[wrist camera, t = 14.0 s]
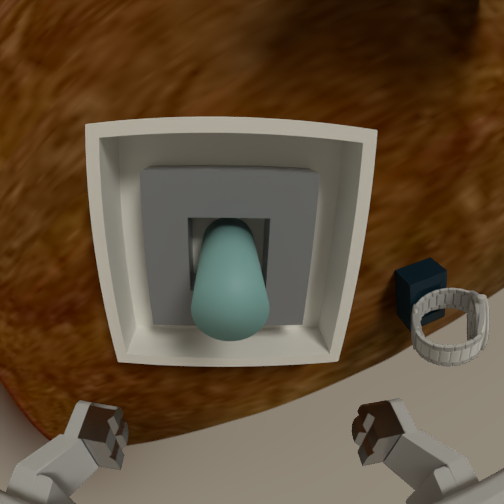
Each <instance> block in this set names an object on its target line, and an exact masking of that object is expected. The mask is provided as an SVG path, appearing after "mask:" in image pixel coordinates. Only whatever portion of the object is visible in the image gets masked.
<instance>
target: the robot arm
mask: <svg viewBox="0 0 504 504" xmlns="http://www.w3.org/2000/svg"><path fill="white" fill-rule="evenodd" d="M122 414H123V413H122V411H121V408H120V407H115V406H109V405H103V404H97V403H92V402H87V401H81V400H79V401H78V402H77V403H76V406H75V408H74V410H73V413H72V415H71V418H70V420H69V423H68V425H67V428H66V430H65V433H64V435H62V434H60V435H58V436H57V437H55V438H54V439H53V440H51V441H50V442H48V443H47V444H45V445H44V446H43V447H41V448H40V449H38V450H37V451H35V452H34V453H32V454H31V455H30V456H28V457H27V458H25V459H24V460H23V461H21V462H19V463H18V464H17V465H16V467H15V470H14V472H13V475H12V477H11V480H10V482H9V485H8V488H7V490H6V492H4V491H2V490H0V504H76V503H75V502H73V501H72V499H71V498H69V496H70V495H72V494H73V493H74V491H76V489H78V488H79V487H80V486H81V485H82V484H83V483H84V482H85V481H86V480H87V479H88V478H89V477H90V476H91V475H92V474H93V473H94V472H95V471H96V470H97V469H98V466H100V467H106V468H112V469H118V470H121V467H122V462H123V457H124V454H123V452H122V450H121V449H122V448H123V447H125V446H126V445H127V440H128V427H127V423H126V421H125V420H124V419H122V418H121V417H122ZM358 414H359V416H357V417H356V418H355V419H354V421H353V424H352V436H353V439H354V442H355V443H356V444H358V445H359V446H360V447H359V450H358V454H359V457H360V460H361V463H362V466H364V465H370V464H375V463H380V462H384V464H385V465H386V466H388V467H389V468H390V469H391V470H392V471H393V472H394V473H396V474H397V475H398V476H399V477H401V479H403V480H404V481H405V482H406V483H407V484H409V485H410V486H411V487H412V488H413V489H414V490H415V491H414V492H413V493H412V494H411V496H409V497H408V499H407V500H406V504H504V468H503V469H501V470H500V471H498V472H496V473H494V474H492V475H491V476H489V477H487V478H485V479H483V480H481V481H478V479H477V477H476V475H475V473H474V471H473V469H472V467H471V466H470V463H469V462H468V460H467V458H466V456H464V455H462V454H460V453H459V452H457V451H455V450H454V449H452V448H450V447H449V446H447V445H445V444H444V443H442V442H440V441H439V440H437V439H435V438H434V437H432V436H430V435H429V434H427V433H426V432H424V431H423V430H417V428H416V426H415V424H414V422H413V420H412V418H411V416H410V414H409V412H408V410H407V408H406V407H405V405H404V403H403V401H402V400H401V399H400V398H398V399H393V400H388V401H380V402H375V403H369V404H363V405H361V406H360V407H359V409H358Z"/></svg>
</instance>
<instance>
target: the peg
mask: <svg viewBox="0 0 504 504" xmlns="http://www.w3.org/2000/svg"><path fill="white" fill-rule="evenodd" d="M191 314H192V317H193V320H194V322H195V324H196V325H197V327H198V328H199V329H200V330H201V331H202V332H203V333H205V334H206V335H208V336H210V337H212V338H214V339H217V340H221V341H239V340H243V339H246V338H249V337H251V336H252V335H254V334H255V333H257V332H258V331H259V330H260V329H261V328H262V327H263V326H264V324H265V323H266V321H267V319H268V315H269V301H268V297H267V292H266V288H265V284H264V280H263V276H262V271H261V267H260V263H259V259H258V255H257V250H256V246H255V242H254V238H253V234H252V231H251V229H250V228H249V226H248V225H247V224H246V223H245V222H243V221H242V220H240V219H238V218H219V219H217V220H215V221H213V222H212V223H211V224H210V225H209V226H208V227H207V228H206V230H205V232H204V236H203V241H202V246H201V252H200V257H199V263H198V268H197V274H196V280H195V286H194V292H193V298H192V304H191Z"/></svg>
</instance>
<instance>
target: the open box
mask: <svg viewBox="0 0 504 504" xmlns="http://www.w3.org/2000/svg"><path fill="white" fill-rule="evenodd" d="M85 139H86V167H87V183H88V196H89V207H90V217H91V226H92V234H93V241H94V249H95V255H96V262H97V268H98V274H99V280H100V285H101V291H102V296H103V301H104V306H105V310H106V315H107V319H108V324H109V328H110V332H111V337H112V341H113V345H114V349H115V352H116V356H117V360H118V362H125V363H138V364H153V365H172V366H208V367H241V366H277V365H297V364H312V363H325V362H337V361H338V360H339V356H340V352H341V349H342V345H343V341H344V337H345V332H346V328H347V324H348V320H349V315H350V311H351V306H352V302H353V297H354V292H355V287H356V282H357V277H358V272H359V267H360V262H361V256H362V250H363V244H364V238H365V232H366V226H367V219H368V212H369V205H370V198H371V190H372V182H373V173H374V164H375V154H376V142H377V130H373V129H366V128H360V127H353V126H345V125H337V124H329V123H320V122H310V121H299V120H286V119H271V118H250V117H168V118H148V119H133V120H120V121H110V122H100V123H91V124H85ZM219 218H238V219H240V220H242V221H243V222H245V223H246V224H247V225H248V226H249V228H250V229H251V231H252V234H253V238H254V242H255V246H256V250H257V255H258V259H259V263H260V267H261V271H262V276H263V280H264V284H265V288H266V292H267V297H268V301H269V315H268V319H267V321H266V323H265V324H264V326H263V327H262V328H261V329H260V330H259V331H258V332H257V333H255V334H254V335H252V336H251V337H249V338H246V339H243V340H239V341H221V340H217V339H214V338H212V337H210V336H208V335H206V334H205V333H203V332H202V331H201V330H200V329H199V328H198V327H197V325H196V324H195V322H194V320H193V317H192V314H191V304H192V298H193V292H194V286H195V280H196V274H197V268H198V263H199V257H200V252H201V246H202V241H203V236H204V232H205V230H206V228H207V227H208V226H209V225H210V224H211V223H212V222H213V221H215V220H217V219H219Z"/></svg>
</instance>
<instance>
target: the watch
mask: <svg viewBox="0 0 504 504" xmlns="http://www.w3.org/2000/svg"><path fill="white" fill-rule="evenodd" d="M395 277H396V296H397V315H398V316H399V318H400V319H401V320H402V321H403V323H404V324H405V325H406V326H407V328H408V329H409V330H410V331H411V339H412V345H413V348H414V349H416V351H417V352H418V354H419V355H420V356H421V357H422V358H424V359H425V360H427V361H428V362H432V363H433V364H436V365H441V364H442V366H451V365H452V366H457V365H461V364H465V363H467V362H469V361H470V360H473V359H474V358H476V357H477V356H478V354H479V352H480V350H484V349H485V347H486V345H487V341H488V336H489V327H490V313H489V304H488V300H487V297H486V295H485V294H483V295H482V294H479V293H477V292H475V291H474V290H470V291H468V290H465V289H459V288H458V289H457V288H446V284H447V270H446V269H444V268H443V267H442V266H441V265H439V264H438V263H437V262H435V261H434V260H433V259H432V258H427V259H425V260H422V261H419V262H417V263H414V264H411V265H408V266H406V267H403V268H400V269H397V270H395ZM453 294H454V299H453ZM447 307H448V308H453V309H455V307H456V309H458V310H461V311H464V312H466V313H468V314H467V340H468V341H467V342H465V344H464V343H461V344H456V345H455V346H454V345H445V346H444V345H443V344H437V343H436V344H434V343H433V342H431V341H429V340H426V338H425V335H424V334H423V332H422V326H424V325H426V324H428V323H430V322H433V321H435V320H437V319H439V318H442V317H444V315H445V308H447ZM454 348H455V349H454ZM450 352H451V354H450ZM439 354H440V356H439ZM449 358H450V360H449Z"/></svg>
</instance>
